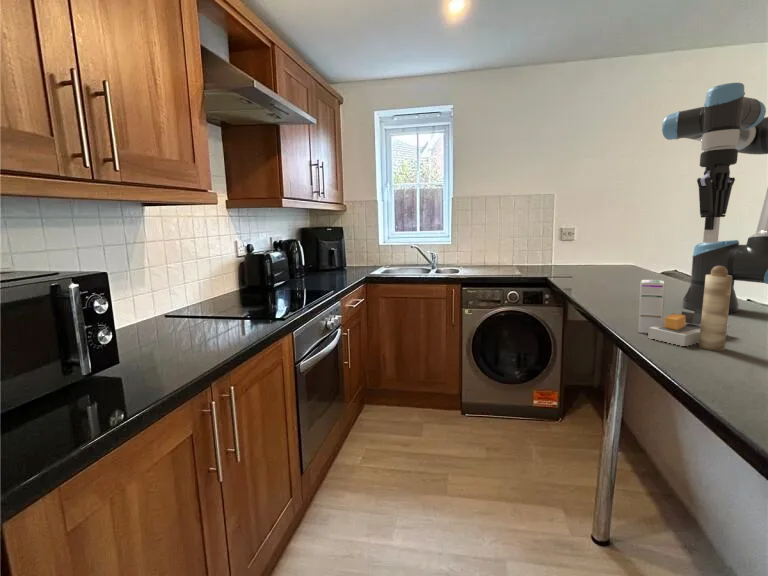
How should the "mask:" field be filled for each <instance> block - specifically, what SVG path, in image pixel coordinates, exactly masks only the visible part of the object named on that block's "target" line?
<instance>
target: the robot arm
mask: <svg viewBox="0 0 768 576" xmlns="http://www.w3.org/2000/svg"><path fill="white" fill-rule="evenodd" d="M745 95H746V92H745V84H744V83H742V82H729V83H724V84H723V83H722V84H719V85H715V86H713V87H711V88H710V89H708V90H707V92H706V96H705V101H704V103H703V106H700V107H695V108H691V109H686V110H682V111H681V110H678V111H676V112H673V113H670V114H668V115H666V116H665V117H664V119H663V121H662V124H661V125H662V126H661V133H662V136H663V138H664V139H666V140H671V141H672V140H675V141H676V140H679V139H689V140H694V141H698V142H700V143H701V151H702V152H701V153H700V157H699V166H700V168H704V171H703V176H702V177H698V178H697V179H696V182H697V185H698V198H699V199H698V201H699V214H700V218H702V219H703V218H704V219H705V220H704V229H703V239H702V242H699V243H697V244H696V245H695V246H694V248H693V254H692V263H691V273H690V274H691V276H690V285H689V287H688V290H687V291H686V293H685V296H684V297H683V299H682V308H685V309H688V310H691V311H695V309H700V310H702V307H703V297H704V287H705V277H706V275H707V274H711V270H712V268H713V267H715V266H724V267H725V268H726V269H727V270H728V274H727V275H730V276H732V284H731V294H730V303H729V312H728V314H731V313H736V312H739V307H740V306H739V301H738V298H737V293H736V291H735V281H739V282H750V283H758V284H759V283H762V284H766V285H768V187H767V188H766V193H765V196H764V200H763V205H762V209H761V212H760V216H759V220H758V224H757V227H756V230H755V233H754V234H752V235H751V236H749V237H748V238H747V240H746V241H747V242H746V244H740V242H739V241H740V240H738V239H735V240H734V239H733V240H732V239H730V240H721V241H720V240H719V233H720V224H721V218H725V217H726V214H727V209H728V206H729V201H730V197H731V193H732V190H733V186H734V183H735V181H736V178H735V177H730V174H731V170H730V166H733V165H736V164H737V163H738V156H739V154H747V155H760V156H761V155H768V116H766V113H767V108H766V106H765V103H763V102H762V101H760V100H758V99H756V98H754V97H753V98H752V97H747V96H745ZM765 116H766V117H765ZM738 153H739V154H738Z"/></svg>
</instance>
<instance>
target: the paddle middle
mask: <svg viewBox="0 0 768 576" xmlns="http://www.w3.org/2000/svg"><path fill="white" fill-rule="evenodd" d="M680 315H685V319H686V323H690V324H696V325H700V321H701V316H702V315H701V314H695V313H694V312H689V311H687V312H686V311H681V314H680Z"/></svg>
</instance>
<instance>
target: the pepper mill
mask: <svg viewBox="0 0 768 576" xmlns="http://www.w3.org/2000/svg"><path fill="white" fill-rule="evenodd" d="M727 274H728V270H727V269H726V268H725V267H724V266H715V267H713V268H712V270H711V274H707V275H706V277H705V287H704V297H703V307H702V317H701V327H700V337H699V343H698V348H700V347H701V348H700V349H702V348H704V349H703V350H706V349H707V350H706V351H711V350H713V352H714V351H715V352H723V351H725V348H726V337H727V336H726V330H727V324H728V320H729V313H728V312H729V303H730V294H731V284H732V276H730V275H727ZM722 350H723V351H722Z"/></svg>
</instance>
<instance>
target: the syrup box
mask: <svg viewBox="0 0 768 576" xmlns="http://www.w3.org/2000/svg"><path fill="white" fill-rule="evenodd" d="M639 285H640V288H639V301H638V303H639V304H638V305H639V306H638V320H637V321H638V323H637V325H638V326H637V332H638V333H640V334H647V333H648V330H649V327H654V326H658V325H663V323H664V310H665V309H664V308H665V287H666V286H665V285H666V284H665V280H661V279H641V280H640V284H639Z"/></svg>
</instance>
